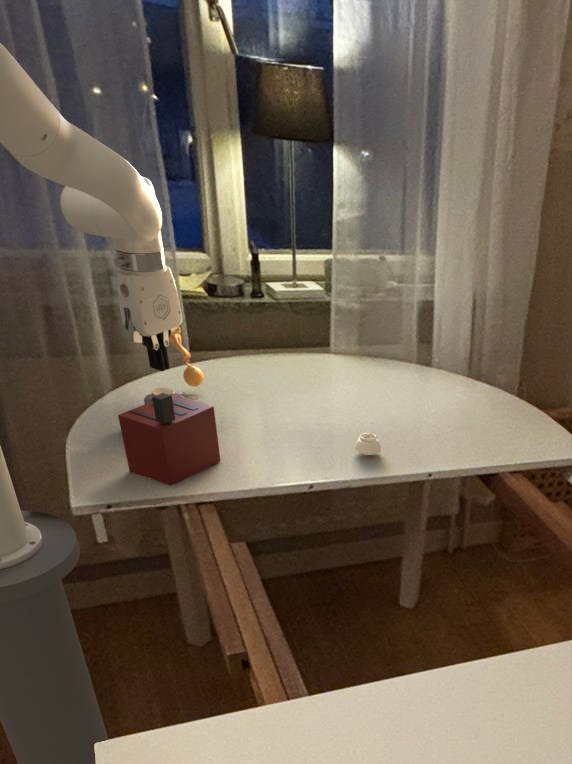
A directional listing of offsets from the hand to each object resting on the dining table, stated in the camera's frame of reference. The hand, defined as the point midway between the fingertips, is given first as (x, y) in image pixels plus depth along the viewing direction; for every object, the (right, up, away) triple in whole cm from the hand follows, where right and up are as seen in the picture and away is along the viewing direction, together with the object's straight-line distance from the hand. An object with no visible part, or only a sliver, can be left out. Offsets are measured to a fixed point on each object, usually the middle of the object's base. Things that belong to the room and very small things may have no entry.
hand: (160, 368), depth 140 cm
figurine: (-2, +3, +19) cm, 19 cm away
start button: (-1, -5, +3) cm, 6 cm away
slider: (+9, -15, -19) cm, 25 cm away
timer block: (-1, -8, +6) cm, 10 cm away
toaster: (+6, -20, -9) cm, 23 cm away
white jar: (+38, -15, +3) cm, 41 cm away
